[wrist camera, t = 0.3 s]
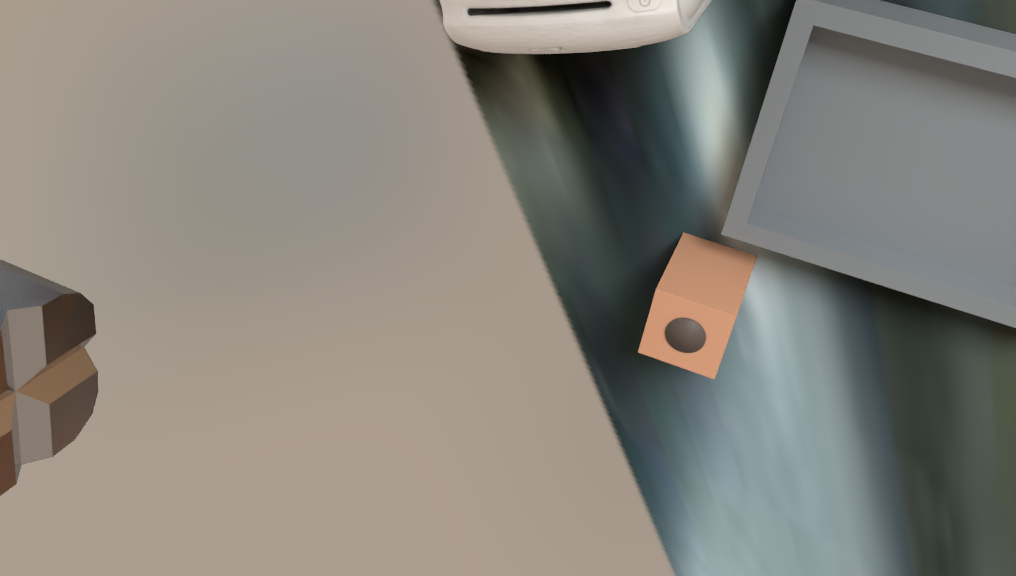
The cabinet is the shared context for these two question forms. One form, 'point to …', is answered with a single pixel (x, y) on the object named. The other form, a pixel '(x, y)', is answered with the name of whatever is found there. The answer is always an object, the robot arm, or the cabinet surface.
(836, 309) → the cabinet surface
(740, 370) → the cabinet surface
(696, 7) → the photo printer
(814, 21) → the tray
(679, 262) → the terracotta block
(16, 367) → the robot arm
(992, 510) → the cabinet surface
